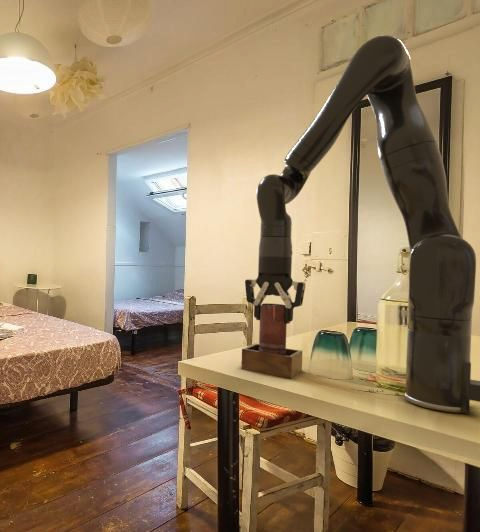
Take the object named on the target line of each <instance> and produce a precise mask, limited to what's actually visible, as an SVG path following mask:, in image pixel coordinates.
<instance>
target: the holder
mask: <svg viewBox="0 0 480 532" xmlns="http://www.w3.org/2000/svg"><path fill="white" fill-rule="evenodd" d="M240 367H241V370H245V371H251V372H255V373H259V374H260V373H261V374H266V375H270V376H277V377H280V378H285V379H290V380H291V379H293V378H294V377H296V376H297V375H298V374H300V373H301V372H302V371H303V350H300V349H294V348H287V347H286V356H285V355H279V354H273V353H267V352H261V351H259V343H253V344H251V345H248V346H245V347H243V348H241V366H240Z"/></svg>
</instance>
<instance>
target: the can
mask: <svg viewBox="0 0 480 532" xmlns="http://www.w3.org/2000/svg"><path fill="white" fill-rule="evenodd" d="M285 309H286V305H285V304H283V303H282V304H280V303H268V302H267V303H266V302H265V303H262V304H261V307H260V320H259V333H258V335H259V336H258V344H259V351H261V352H267V353H273V354H279V355H285V356H286V348H287V325H288V324H286V323H285Z"/></svg>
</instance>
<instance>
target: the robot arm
mask: <svg viewBox="0 0 480 532" xmlns="http://www.w3.org/2000/svg"><path fill="white" fill-rule="evenodd" d="M366 97H367V99H368V101H369V103H370V106H371V109H372V111H373V114H374V117H375V124H376V148H377V154H378V158H379V162H380V166H381V169H382V172H383V176H384V179H385V181H386V184H387V186H388V189H389V190H390V194H391V196H392V198H393V200H394V201H395V204H396V206H397V208H398V210H399V212H400V214H401V216H402V219H403V223H404V225H405V226H404V227H405V230H406V235H407V241H408V248H409V268H408V269H409V275H408V299H407V300H408V302H407V309H408V310H407V331H406V335H407V337H406V359H405V360H406V361H405V362H406V363H405V386H404V400H405V401H407V402H408V403H410V404H413V405H416V406H419V407H422V408H425V409H430V410H433V411H440V412H446V413H454V414H455V413H457V414H464V415H470V405H471V404H470V403H471V401H473V402H480V380H476V379H472V378H471V377H472V376H471V375H472V363H471V352H472V351H471V350H472V349H471V348H472V325H473V324H472V322H473V321H472V319H473V310H474V304H475V295H476V294H475V293H476V277H477V275H476V274H477V255H476V252H475V250H474V248H473V246H472V245H471V243H469V242H468V241H467V240H465V239H464V238H462V235H461V233H460V231H459V229H458V226H457V225H456V222H455V220H454V217H453V215H452V212H451V208H450V204H449V195H448V183H447V175H446V170H445V166H444V161H443V157H442V154H441V151H440V148H439V145H438V142H437V139H436V136H435V134H434V131H433V129H432V126H431V124H430V122H429V120H428V118H427V115H426V114H425V113H424V110H423V109H422V107H421V104H420V103H419V100H418V97H417V93H416V88H415V81H414V76H413V67H412V62H411V56H410V54H409V51H408V49H406V47H405V45H404V44H403V42H402V41H401V40H400V39H399V38H398V37H396V36H394V35H390V34H381V35H378V36H375V37H372V38H370V39H368V40H367V41H365V42H364V43H363V44H361V45H360V46H359V48H358V49H357V50H356V52H355V53H354V55H352V57H351V59H350V61H349V63H348V64H347V66H346V67H345V69H344V71H343V73H342V75H341V76H340V78H339V80H338V82H337V84H336V85H335V86H334V88H333V89H332V91H331V93H330V94H329V96H328V98H327V100H326V101H325V102H324V104H323V105H322V107H321V109H320V110H319V111H318V113H317V114H316V116H315V117H314V118H313V120H312V122H311V123H310V124H309V126H308V127H307V128H306V130H305V131H304V132H303V133H302V135H301V136H300V137H299V138H298V140H297V141H296V142H295V143H294V144H293V146H292V147H291V148H290V150H289V151H288V152H287V154H286V155H285V158H284V163H285V167H284V169H283V170H282V172H281V173H280V175H279V174H275V173H274V174H268V175H265V176H264V177H263V178H262V179H260V181H259V183H258V185H257V188H256V203H257V209H258V215H259V218H260V235H259V236H260V238H259V244H258V262H257V263H258V265H257V267H258V268H257V269H258V270H257V274H258V275H257V278H256V279H252V278H250V279H245V280H244V287H245V297H246V302H247V303H251V304H252V305H253V317H254V318H255V319H256V321H260V307H261V305H262V304H263V303H264V300H265V299H266V298H267V296H275V297H280V299H281V300H282V301H283V303H284V305H286V309H285V323H286V324H287V325H289V324H290V323H291V322H293V320H294V310H295V308H297V307H298V308H299V307H301V306H303V302H304V297H305V290H306V283H305V282H304V281H294V280H293V278H292V268H293V267H292V264H293V263H292V262H293V261H292V260H293V242H292V229H293V228H292V227H293V223H292V222H293V221H292V217H291V216H290V215H289V213H288V212H287V206H286V205H288V204H290V203H291V202H292V201H294V200H295V199H296V197H297V196H298V195H299V194H300V193H301V191H302V189H303V188H304V186H305V184H306V183H307V182H308V179H309V177H310V176H311V173H312V171H313V170H314V169H315V168H316V167H317V166H318V165H319V164H320V163H321V161H322V160H323V159H324V158H325V156H326V155H327V154H328V153H329V152H330V150H331V149H332V148H333V147H334V145H335V143H336V142H337V140H338V138H339V137H340V135H341V133H342V131H343V130H344V127H345V125H346V124H347V122H348V120H349V118H350V116H351V115H352V114H353V112H354V111H355V109H356V108H357V107H358V106H359V104H361V102H362V101H363V99H364V98H366ZM256 285H257V286H258V288H259V291H258V293H257V295H256V298H255V289H254V288H255V287H256ZM292 286H293V290H294V291H295V297H294V301H293V300H292V296H291V295H290V292H289V289H290V288H291V287H292Z"/></svg>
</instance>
